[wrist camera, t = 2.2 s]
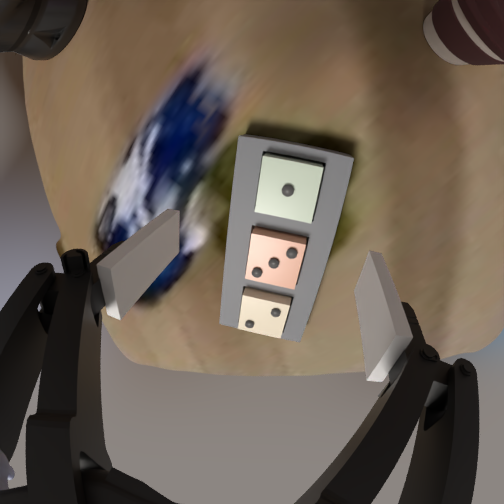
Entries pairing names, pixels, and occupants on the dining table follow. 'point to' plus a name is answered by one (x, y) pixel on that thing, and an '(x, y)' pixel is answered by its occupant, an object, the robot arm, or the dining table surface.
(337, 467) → the robot arm
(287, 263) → the tile three
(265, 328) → the tile two
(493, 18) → the coffee cup
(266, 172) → the tile one
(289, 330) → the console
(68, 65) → the dining table surface
